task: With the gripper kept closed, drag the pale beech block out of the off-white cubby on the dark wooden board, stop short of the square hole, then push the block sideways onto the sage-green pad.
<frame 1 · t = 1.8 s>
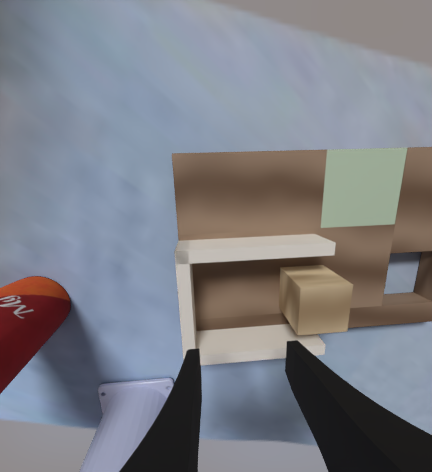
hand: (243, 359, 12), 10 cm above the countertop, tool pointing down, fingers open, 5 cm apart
cubby: (243, 280, 21), resting on board
block: (300, 286, 20), point 2 cm above the countertop, touching board
board: (394, 270, 22), on the countertop
paper cup: (41, 301, 21), on the countertop
pad: (347, 188, 20), resting on board
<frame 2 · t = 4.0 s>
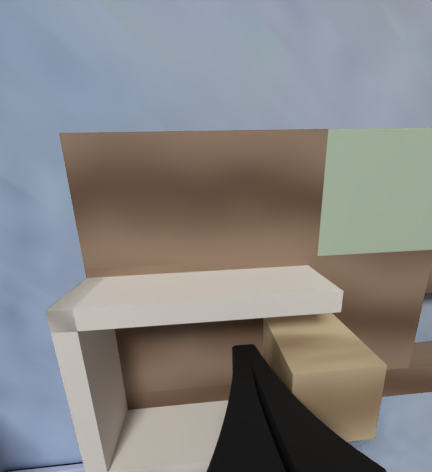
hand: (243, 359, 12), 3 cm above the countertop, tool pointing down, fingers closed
cubby: (204, 327, 15), resting on board
block: (295, 342, 13), point 2 cm above the countertop, touching gripper
board: (424, 311, 16), on the countertop
pad: (358, 193, 13), resting on board
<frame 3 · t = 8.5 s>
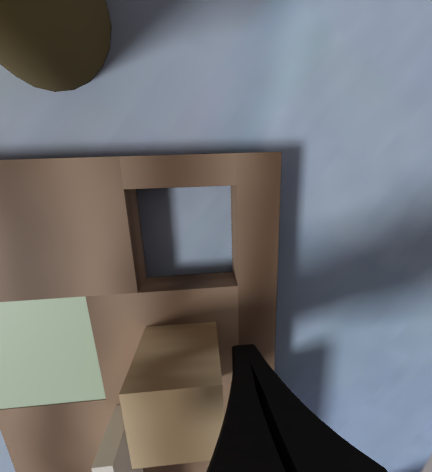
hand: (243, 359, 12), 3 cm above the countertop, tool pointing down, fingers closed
cubby: (201, 432, 17), resting on board
block: (183, 353, 13), point 2 cm above the countertop, touching board, gripper
board: (187, 233, 13), on the countertop
pad: (60, 332, 14), resting on board
cork: (48, 23, 10), on the countertop
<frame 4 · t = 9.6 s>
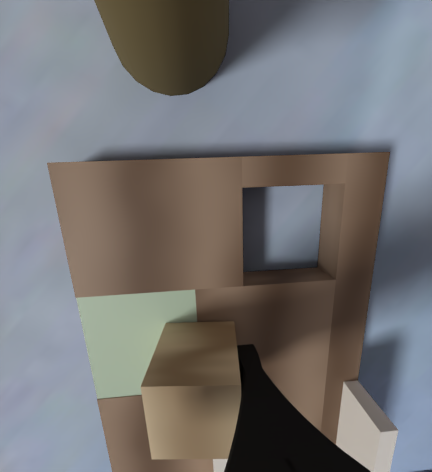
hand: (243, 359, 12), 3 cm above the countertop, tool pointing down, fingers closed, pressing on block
cubby: (273, 424, 17), resting on board
block: (201, 351, 13), point 2 cm above the countertop, tilted 5°, touching gripper, pad
board: (279, 229, 13), on the countertop
pad: (151, 325, 14), resting on board
cork: (170, 32, 11), on the countertop
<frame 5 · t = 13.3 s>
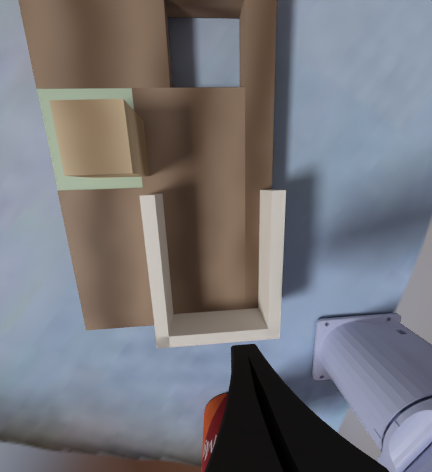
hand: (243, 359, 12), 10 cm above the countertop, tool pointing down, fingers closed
cubby: (213, 253, 21), resting on board
block: (119, 150, 16), point 2 cm above the countertop, touching board, pad
board: (205, 59, 17), on the countertop
paper cup: (227, 409, 25), on the countertop
pad: (104, 146, 18), resting on board
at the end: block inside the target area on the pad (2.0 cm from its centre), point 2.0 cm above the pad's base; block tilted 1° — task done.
